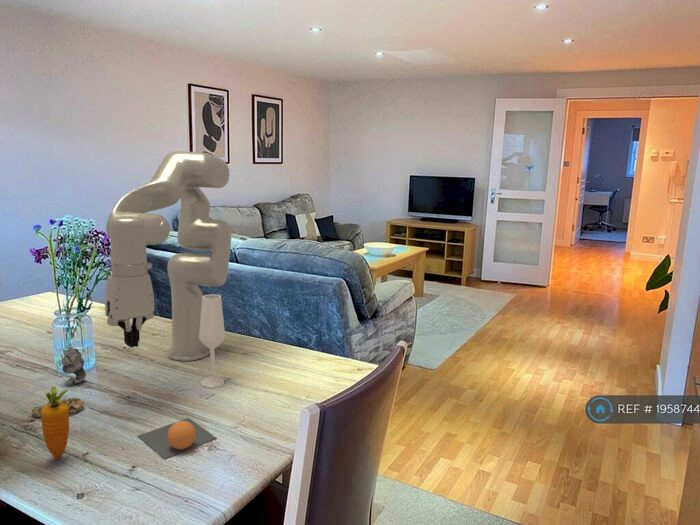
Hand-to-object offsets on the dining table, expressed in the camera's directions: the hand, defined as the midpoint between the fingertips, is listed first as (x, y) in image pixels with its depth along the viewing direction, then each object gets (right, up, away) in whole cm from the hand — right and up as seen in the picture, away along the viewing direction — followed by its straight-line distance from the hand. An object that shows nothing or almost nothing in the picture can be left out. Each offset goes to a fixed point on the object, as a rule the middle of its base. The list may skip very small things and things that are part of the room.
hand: (132, 345), depth 123 cm
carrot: (-6, -19, -21) cm, 29 cm away
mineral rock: (-16, -16, -2) cm, 23 cm away
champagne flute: (+15, -13, +17) cm, 26 cm away
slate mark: (+15, -18, -11) cm, 26 cm away
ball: (+17, -16, -16) cm, 28 cm away
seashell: (-21, -12, +13) cm, 27 cm away
